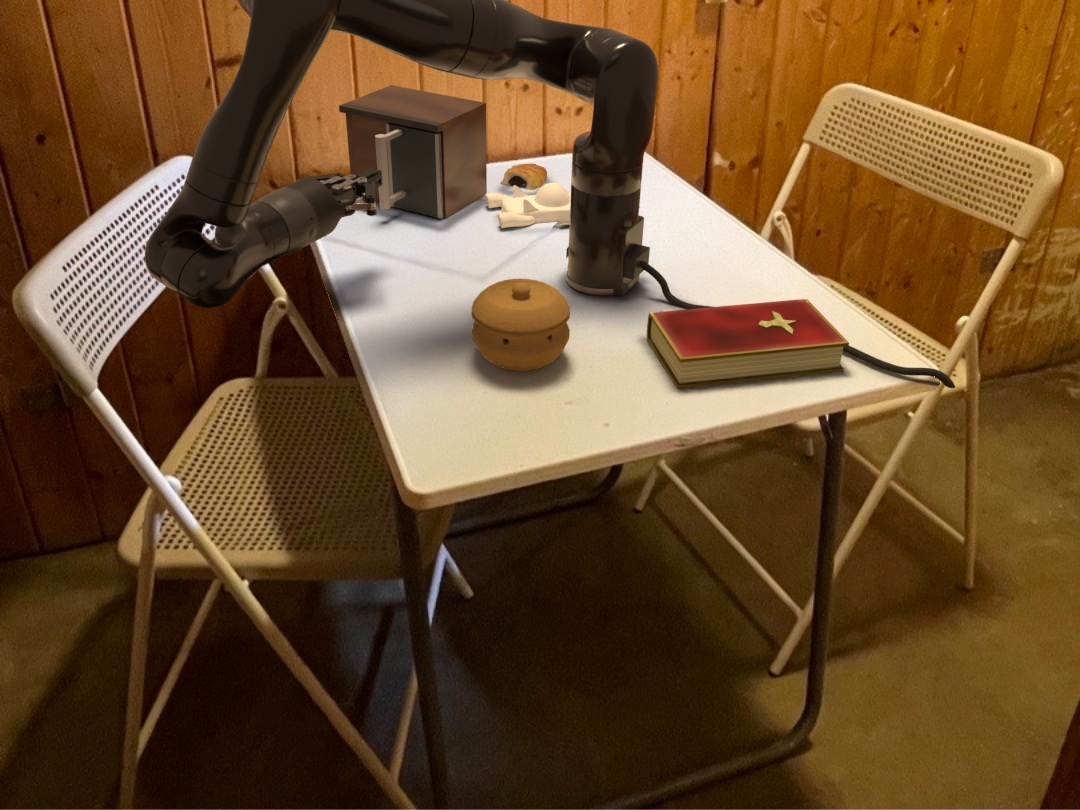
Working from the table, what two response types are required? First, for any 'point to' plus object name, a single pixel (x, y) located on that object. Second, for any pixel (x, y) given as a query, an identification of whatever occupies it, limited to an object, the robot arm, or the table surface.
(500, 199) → the plane toy
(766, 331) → the hardcover book
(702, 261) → the table surface
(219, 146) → the robot arm
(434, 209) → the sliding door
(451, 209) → the cupboard
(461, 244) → the table surface
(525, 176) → the pastry
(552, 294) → the pot
